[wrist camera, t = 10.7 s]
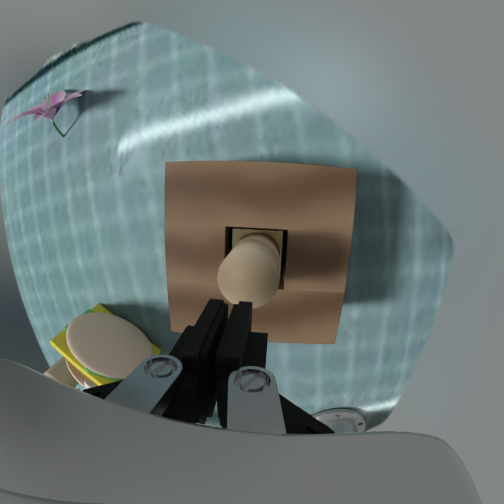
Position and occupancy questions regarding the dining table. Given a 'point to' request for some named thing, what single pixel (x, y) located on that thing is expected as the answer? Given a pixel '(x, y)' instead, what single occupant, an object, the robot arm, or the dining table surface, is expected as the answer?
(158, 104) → the dining table surface
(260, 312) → the socket block
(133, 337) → the hamburger
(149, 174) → the dining table surface
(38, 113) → the lily
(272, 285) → the maple peg
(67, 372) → the candle
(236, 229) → the tan square tile
